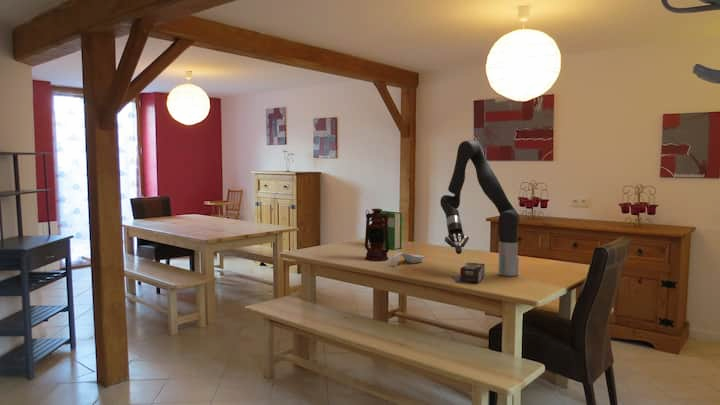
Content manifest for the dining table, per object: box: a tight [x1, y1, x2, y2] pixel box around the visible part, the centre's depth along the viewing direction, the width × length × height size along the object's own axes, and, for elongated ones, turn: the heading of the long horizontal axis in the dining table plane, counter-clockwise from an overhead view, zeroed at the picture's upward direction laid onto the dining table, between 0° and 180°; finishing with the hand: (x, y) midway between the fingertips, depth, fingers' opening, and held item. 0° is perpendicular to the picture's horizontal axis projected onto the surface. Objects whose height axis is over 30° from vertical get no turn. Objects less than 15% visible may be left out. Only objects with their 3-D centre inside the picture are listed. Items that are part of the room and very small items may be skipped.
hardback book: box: [380, 210, 403, 251], centre depth 332 cm, size 18×7×24 cm, turn 44°
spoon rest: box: [389, 252, 425, 268], centre depth 284 cm, size 24×12×7 cm, turn 136°
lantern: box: [364, 208, 390, 262], centre depth 295 cm, size 17×14×30 cm
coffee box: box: [459, 261, 486, 283], centre depth 247 cm, size 9×6×16 cm
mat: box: [450, 274, 482, 283], centre depth 248 cm, size 12×12×1 cm
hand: (459, 253), depth 253 cm, fingers closed
